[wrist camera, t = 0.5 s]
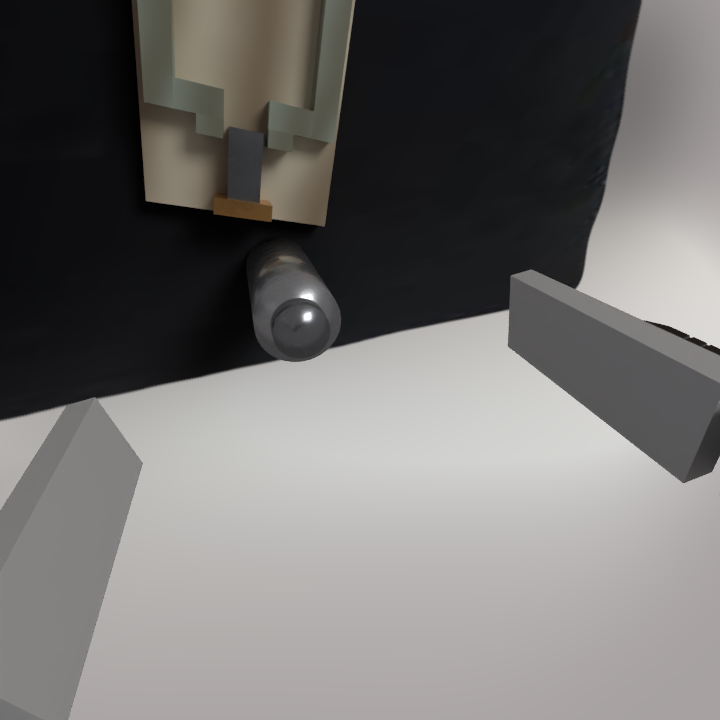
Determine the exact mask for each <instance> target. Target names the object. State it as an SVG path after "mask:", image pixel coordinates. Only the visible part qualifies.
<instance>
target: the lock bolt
mask: <svg viewBox="0 0 720 720" xmlns="http://www.w3.org/2000/svg"><path fill="white" fill-rule="evenodd" d="M263 137H264V134H263V133H258V132H253V131H249V130H244V129H239V128H235V127H230V126H229V141H228V189H227V194H222V193H216V192H215V194H214V214H216V215H224V216H231V217H238V218H245V219H253V220H260V221H267V222H272V209H273V206H272V204H271V203H270V201H267V200H261V199H260V189H261V172H262V155H263Z"/></svg>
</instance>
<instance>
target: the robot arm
mask: <svg viewBox="0 0 720 720" xmlns="http://www.w3.org/2000/svg"><path fill="white" fill-rule="evenodd" d="M508 347H510V348H511V349H512V350H513V351H515V352H516V353H517V354H519V355H520V356H521V357H522V358H524V359H525V360H526V361H528V362H529V363H530V364H531V365H533V366H534V367H535V368H536V369H538V370H539V371H540V372H542V373H543V374H544V375H545V376H547V377H548V378H549V379H551V380H552V381H553V382H554V383H556V384H557V385H558V386H560V387H561V388H562V389H563V390H565V391H566V392H567V393H568V394H570V395H571V396H572V397H574V398H575V399H576V400H578V401H579V402H580V403H581V404H583V405H584V406H585V407H586V408H588V409H589V410H590V411H592V412H593V413H594V414H595V415H597V416H598V417H599V418H600V419H602V420H603V421H604V422H606V423H607V424H608V425H609V426H611V427H612V428H613V429H615V430H616V431H617V432H619V433H620V434H621V435H622V436H624V437H625V438H626V439H627V440H629V441H630V442H631V443H633V444H634V445H635V446H637V447H638V448H639V449H640V450H641V451H643V452H644V453H645V454H647V455H648V456H649V457H650V458H652V459H653V460H654V461H656V462H657V463H658V464H659V465H661V466H662V467H663V468H665V469H666V470H667V471H668V472H670V473H671V474H672V475H673V476H675V477H676V478H677V479H679V480H680V481H681V482H682V483H685V482H688V481H690V480H693V479H695V478H698V477H700V476H703V475H705V474H708V473H710V472H712V471H713V469H714V466H715V464H716V462H717V460H718V458H719V456H720V349H719V348H717V347H714V346H712V345H710V346H708V345H707V343H705V342H703V341H701V340H699V339H696V338H694V337H693V338H690V337H689V335H687V334H685V333H683V332H681V331H678V330H676V329H674V328H672V327H669V326H665V325H661V324H657V323H653V322H649V321H643V320H641V319H639V318H636V317H634V316H632V315H630V314H627V313H625V312H623V311H621V310H619V309H617V308H615V307H612V306H610V305H608V304H606V303H603V302H601V301H599V300H597V299H595V298H593V297H590V296H588V295H586V294H584V293H582V292H579V291H577V290H575V289H573V288H571V287H569V286H566V285H564V284H562V283H560V282H558V281H555V280H553V279H551V278H549V277H547V276H544V275H542V274H540V273H538V272H536V271H534V270H528V271H525V272H522V273H518V274H515V275H511V284H510V309H509V335H508ZM141 467H142V462H141V460H140V459H139V457H138V456H137V455H136V453H135V452H134V450H133V449H132V448H131V446H130V445H129V443H128V442H127V441H126V439H125V438H124V437H123V435H122V434H121V432H120V431H119V430H118V428H117V427H116V425H115V424H114V423H113V421H112V420H111V418H110V417H109V416H108V414H107V413H106V411H105V410H104V409H103V408H102V406H101V405H100V403H99V402H98V400H97V399H96V398H91V399H88V400H84V401H81V402H77V403H74V404H71V405H67V406H66V408H65V409H64V411H63V413H62V414H61V416H60V417H59V419H58V420H57V422H56V424H55V425H54V427H53V428H52V430H51V431H50V433H49V435H48V436H47V438H46V439H45V441H44V443H43V444H42V446H41V447H40V449H39V450H38V452H37V454H36V455H35V457H34V458H33V460H32V461H31V463H30V465H29V466H28V468H27V469H26V471H25V473H24V474H23V476H22V477H21V479H20V480H19V482H18V484H17V485H16V487H15V488H14V490H13V492H12V493H11V495H10V496H9V498H8V499H7V501H6V502H5V504H4V506H3V507H2V509H1V510H0V720H68V718H69V715H70V711H71V708H72V704H73V700H74V697H75V694H76V690H77V687H78V683H79V680H80V676H81V673H82V670H83V666H84V663H85V659H86V656H87V653H88V649H89V646H90V642H91V639H92V635H93V632H94V628H95V625H96V621H97V618H98V615H99V611H100V608H101V604H102V601H103V598H104V594H105V591H106V587H107V584H108V580H109V577H110V574H111V570H112V567H113V563H114V560H115V556H116V553H117V549H118V546H119V543H120V539H121V536H122V532H123V529H124V525H125V522H126V519H127V515H128V512H129V508H130V505H131V501H132V498H133V495H134V491H135V487H136V484H137V481H138V477H139V474H140V471H141Z"/></svg>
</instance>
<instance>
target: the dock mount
mask: <svg viewBox="0 0 720 720" xmlns="http://www.w3.org/2000/svg"><path fill="white" fill-rule="evenodd" d="M354 5H355V0H132V12H133V26H134V40H135V54H136V68H137V82H138V96H139V111H140V125H141V139H142V153H143V167H144V181H145V195H146V201H149V202H156V203H163V204H170V205H178V206H185V207H192V208H199V209H206V210H213V211H214V194H215V192H216V193H222V194H227V189H228V141H229V126H230V127H235V128H239V129H244V130H249V131H253V132H258V133H263V134H264V137H263V155H262V172H261V189H260V199H261V200H267V201H270V203H271V204H272V206H273V209H272V219H277V220H284V221H291V222H298V223H305V224H312V225H319V226H325V220H326V212H327V205H328V198H329V190H330V183H331V175H332V168H333V160H334V153H335V146H336V138H337V131H338V123H339V116H340V109H341V101H342V94H343V86H344V79H345V71H346V64H347V57H348V49H349V42H350V34H351V27H352V20H353V12H354Z"/></svg>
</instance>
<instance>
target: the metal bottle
mask: <svg viewBox="0 0 720 720" xmlns="http://www.w3.org/2000/svg"><path fill="white" fill-rule="evenodd" d="M246 272H247V279H248V287H249V294H250V302H251V309H252V316H253V324H254V330H255V334H256V338H257V340H258V342H259V343H260V345H261V346H262V347H263V348H264V349H265V351H267V352H268V353H269V354H271V355H272V356H274V357H276V358H278V359H281V360H284V361H291V362H300V361H306V360H310V359H312V358H315V357H317V356H319V355H321V354H322V353H323V352H325V351H326V350H327V349H328V348H329V347H330V346H331V345H332V344H333V342H334V341H335V339H336V337H337V335H338V333H339V330H340V325H341V315H340V310H339V307H338V305H337V303H336V301H335V299H334V298H333V296H332V295H331V293H330V292H329V290H328V288H327V287H326V285H325V284H324V282H323V281H322V279H321V277H320V276H319V274H318V273H317V271H316V270H315V268H314V267H313V265H312V263H311V262H310V260H309V259H308V257H307V256H306V254H305V252H304V251H303V250H302V248H301V247H300V246H299V245H298V244H297V243H295V242H294V241H292V240H290V239H287V238H284V237H269V238H266V239H263V240H261V241H260V242H258V243H257V244H256V245H255V246H254V247H253V248H252V249H251V251H250V252H249V255H248V257H247V261H246Z"/></svg>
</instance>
